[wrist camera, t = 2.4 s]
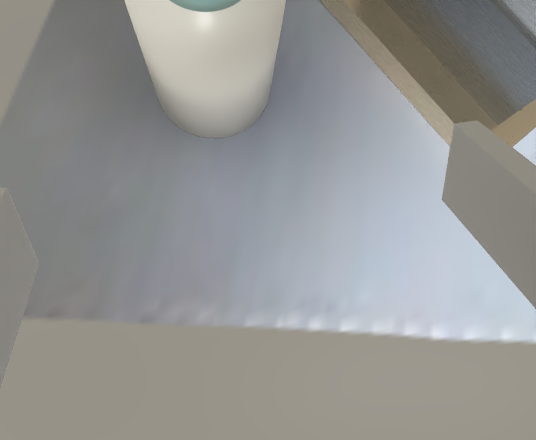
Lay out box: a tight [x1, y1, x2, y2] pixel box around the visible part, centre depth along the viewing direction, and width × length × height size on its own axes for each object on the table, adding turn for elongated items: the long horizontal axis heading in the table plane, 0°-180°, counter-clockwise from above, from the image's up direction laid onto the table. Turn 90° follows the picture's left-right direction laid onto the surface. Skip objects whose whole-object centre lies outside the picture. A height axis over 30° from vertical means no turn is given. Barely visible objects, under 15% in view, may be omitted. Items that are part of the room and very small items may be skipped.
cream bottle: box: [125, 0, 286, 138], centre depth 25 cm, size 7×7×12 cm
